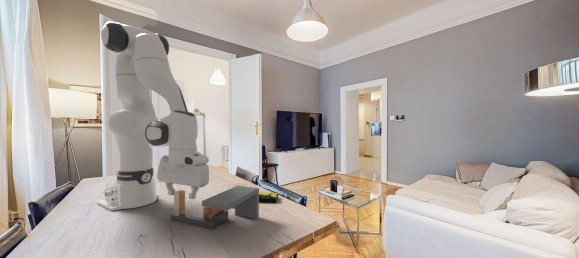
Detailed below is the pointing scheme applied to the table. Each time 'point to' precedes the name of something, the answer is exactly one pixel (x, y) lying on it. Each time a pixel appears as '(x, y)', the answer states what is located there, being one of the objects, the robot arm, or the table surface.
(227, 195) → the grey l-shaped bookend
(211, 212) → the cube
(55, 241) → the table surface
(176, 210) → the tan-tipped l-shaped bar
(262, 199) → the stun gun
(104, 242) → the table surface
